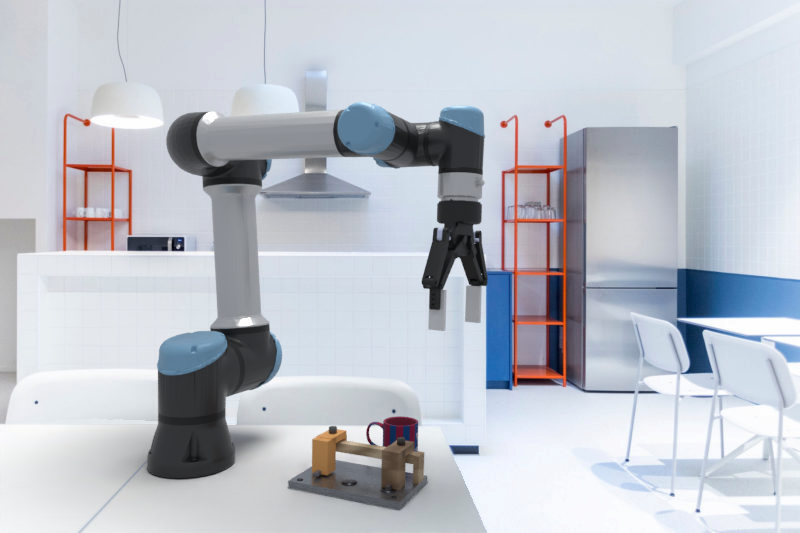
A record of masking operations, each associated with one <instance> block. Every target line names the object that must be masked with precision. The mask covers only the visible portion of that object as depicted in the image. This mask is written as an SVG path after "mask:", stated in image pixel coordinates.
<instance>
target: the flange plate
mask: <svg viewBox="0 0 800 533" xmlns="http://www.w3.org/2000/svg"><path fill="white" fill-rule="evenodd" d="M381 475H382V467H381V466H380V467H379V466H373V465H367V464H362V463H361V464H360V463H355V462H350V461H349V462H348V461H345V460H339V459H338V460H337V459H336V466H335V471H333V472H332V473H330V474H329V475H322V474H321V475H320V476H314V473H312V465H311V466H309V467H308V468H307V469H305V470H303V471H301V472H300V473H299V474H297V475H296V476H294V477H292V478H290V479H289V480H288V481H287V488H288V489H292V490H297V491H301V492H307V493H310V494H311V493H312V494H315V495H321V496H326V497H332V498H337V499H342V500H347V501H351V502H357V503H361V504H366V505H372V506H377V507H382V508H387V509H392V510H398V511H401V510H402V508H404V507H405V505H407V504H408V503H409V502H410V501H411V500H412V499H413V498H414V497H415V496H416V495H417V494H418V493H419V491H421V490H422V488H424V487H425V486H426V485H427V484H428V475H426V474H425V475H424V480H423V481H422V482H420V483H419V484H414V483H413V472H408V471H405V485H404V486H403V487H402V488H401V489H399V490H396V489H391V490H390V491H385V487H381Z"/></svg>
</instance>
